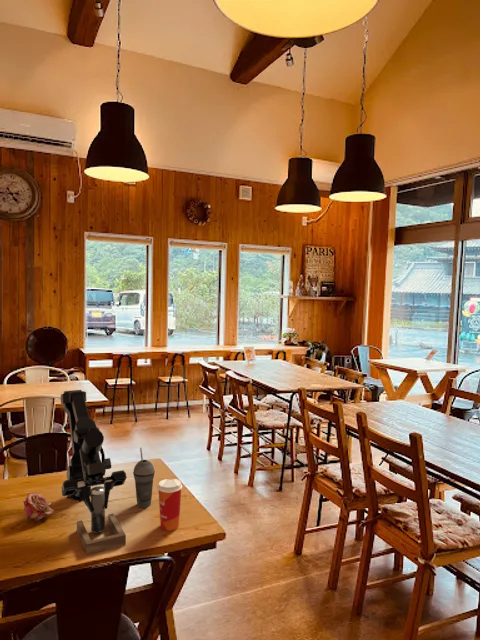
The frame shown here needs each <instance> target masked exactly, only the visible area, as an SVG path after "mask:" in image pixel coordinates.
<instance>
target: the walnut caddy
mask: <svg viewBox="0 0 480 640" xmlns="http://www.w3.org/2000/svg"><path fill="white" fill-rule="evenodd" d="M107 516H108V517H107V519H108V521H107V522H108V523H107V524H108V526H109V527H110V529H111V531H112V533H113V534H112V535H108V536H104V537H100V538H97V539H92V540H91V538H90V536H89V533H88V531H87V529H86V526H85V524H84V522H83V520H78V521H76V533H77V535H78V537H79V539H80V542H81V544H82V547H83V550H84V552H85V554H86V555H87V556H88V555H92V554H96V553H99V552H103V551H107V550H111V549H115V548H118V547H119V548H120V547H123V546H126V544H127V542H126V541H127V540H126V538H127V535H126V533H125V531H124V529H123V528H122V526H121V524H120V523H119V521H118V520H117V518H116V516H115V515H114V513H108V515H107Z"/></svg>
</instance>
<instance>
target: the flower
mask: <svg viewBox="0 0 480 640" xmlns="http://www.w3.org/2000/svg"><path fill="white" fill-rule="evenodd" d="M51 503H52V502H50V501H49V500H48V499H47V498H46V497H44V496H43V495H42V494H41V493H38V492H35V493H34V492H32V493H28V494H27V495H26V498H25V500H23V505H24V508H23V509H24V510H23V511H24V512H25V514H26V515H25V516H26V521H27V520H28V521H30V520H31V519H33V521H37V522H40V520H41V519H43V518H45V517H47V516H48V515H52V514H53V513H54V509H52V508H51V507H50V505H51Z"/></svg>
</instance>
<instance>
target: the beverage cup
mask: <svg viewBox="0 0 480 640" xmlns="http://www.w3.org/2000/svg"><path fill="white" fill-rule="evenodd" d="M139 450H140V451H139V452H140V460H139V461H138V462H136V464H135V465H134V468H133V472H132V473H133V479H134V484H135V496H136V504H137V507H138V508H139V509H140V508H141V509H145V508H146V509H147V508H149V507H150V506H151V505H152V500H153V499H152V497H153V488H154V487H153V486H154V478H155V472H156V471H155V467H154V465H153V463H152V462H151V461H150V460H147V459H144V458H143V452H142V451H143V449H142V447H140V448H139Z"/></svg>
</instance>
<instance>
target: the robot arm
mask: <svg viewBox="0 0 480 640" xmlns="http://www.w3.org/2000/svg"><path fill="white" fill-rule="evenodd" d="M86 402H87V391H83V390H82V389H75V390H74V389H73V390H64V391H63V393H60V404H61V405H62V409H63V411H64V412H65V413H66V414H67V415H68V421H69V422H68V423H69V430H70V439H71V450H72V456H71V457H70V460H69V463H68V467H67V469H66V479H67V480H63V483H62V486H61V496H62V497H67V499H71V500H75V501H78V502H81V501H82V502H83V503H84V504H85V506H86V507H87V509H88V510H89V512H90V513H91V512H92V505H91V489H92V487H97V486H101V485H103V487H104V488H105V510H107V509H108V504H109V497H110V492H111V491H112V490H113V489H114V487H119V486H123V485H124V484H125V483H126V479H127V477H128V476H127V474H126V472H125V470H123V469H122V470H116V471H113V472H111V475H110V476H105V475H106V471H107V470H110V469H112V462H111V458H110V457H108V458H104V459H102V460H101V455H100V451H101V449H102V446H103V444H104V440H105V437H104V435H103V432H102V431H101V430H100V428H99V427H97V424H96V422H95V420H93V419H92V418H91V417H90V414H89V410H88V407H87V403H86ZM104 476H105V477H104Z"/></svg>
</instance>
